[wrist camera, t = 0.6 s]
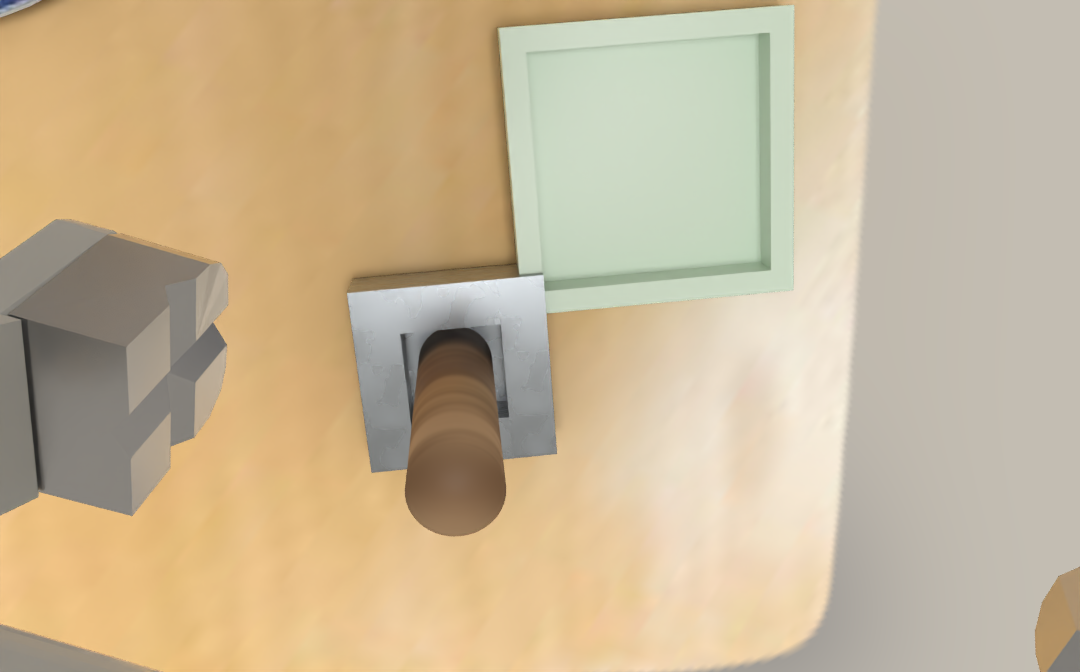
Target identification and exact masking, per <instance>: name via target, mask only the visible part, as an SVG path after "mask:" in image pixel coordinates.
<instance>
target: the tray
mask: <svg viewBox="0 0 1080 672" xmlns="http://www.w3.org/2000/svg"><path fill="white" fill-rule="evenodd" d="M497 33H498V45H499V57H500V69H501V81H502V93H503V105H504V117H505V129H506V141H507V153H508V165H509V177H510V189H511V201H512V213H513V225H514V237H515V249H516V261H517V267H518V271H519V275H524V274H535V273H543V276H544V289H545V302H546V313H557V312H567V311H578V310H589V309H599V308H610V307H621V306H631V305H642V304H653V303H663V302H674V301H684V300H695V299H706V298H716V297H727V296H738V295H748V294H759V293H769V292H780V291H791V290H793V287H794V5H777V6H765V7H752V8H739V9H727V10H714V11H701V12H688V13H676V14H663V15H650V16H638V17H625V18H612V19H599V20H587V21H574V22H561V23H549V24H536V25H523V26H510V27H498V28H497Z"/></svg>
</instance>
